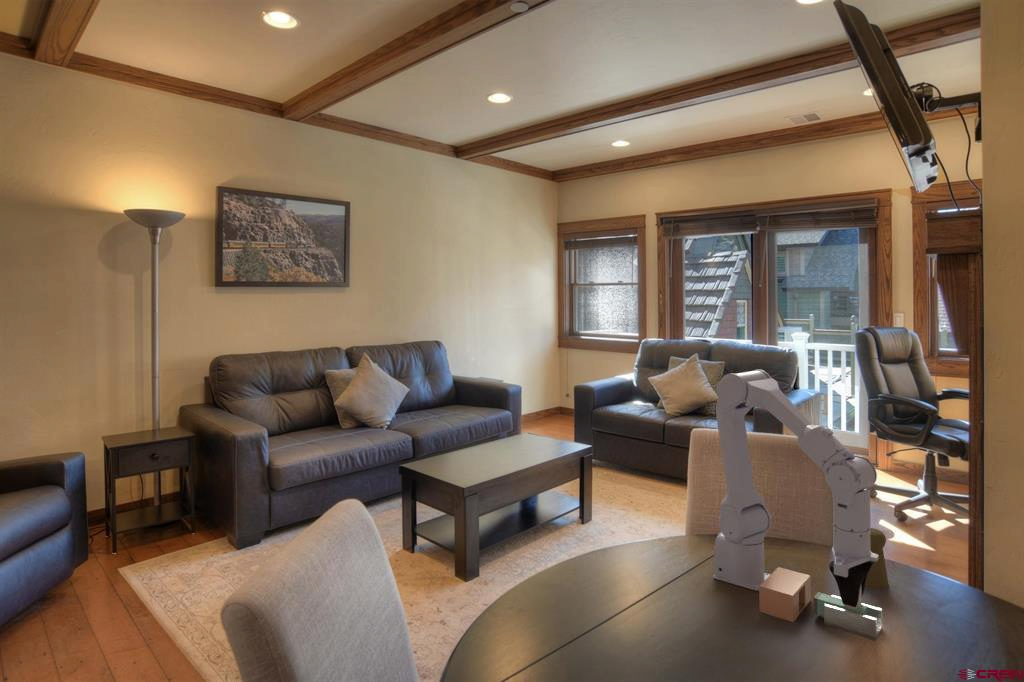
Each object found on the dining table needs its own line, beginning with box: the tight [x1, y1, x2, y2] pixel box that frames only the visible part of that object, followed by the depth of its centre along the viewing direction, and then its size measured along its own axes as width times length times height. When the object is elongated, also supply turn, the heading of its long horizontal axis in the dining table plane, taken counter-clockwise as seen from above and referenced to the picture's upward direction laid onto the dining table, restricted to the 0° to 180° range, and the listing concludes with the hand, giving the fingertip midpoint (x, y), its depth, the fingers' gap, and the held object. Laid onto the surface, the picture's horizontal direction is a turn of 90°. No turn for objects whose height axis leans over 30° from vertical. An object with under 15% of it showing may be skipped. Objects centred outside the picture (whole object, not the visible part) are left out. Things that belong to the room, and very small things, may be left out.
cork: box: [865, 527, 889, 590], centre depth 120 cm, size 6×6×11 cm
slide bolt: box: [813, 587, 867, 617], centre depth 106 cm, size 8×3×8 cm, turn 46°
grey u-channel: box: [823, 594, 883, 641], centre depth 105 cm, size 8×5×4 cm, turn 46°
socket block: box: [758, 566, 812, 623], centre depth 113 cm, size 6×10×5 cm, turn 136°
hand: (852, 600), depth 105 cm, fingers closed on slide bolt, 3 cm apart
